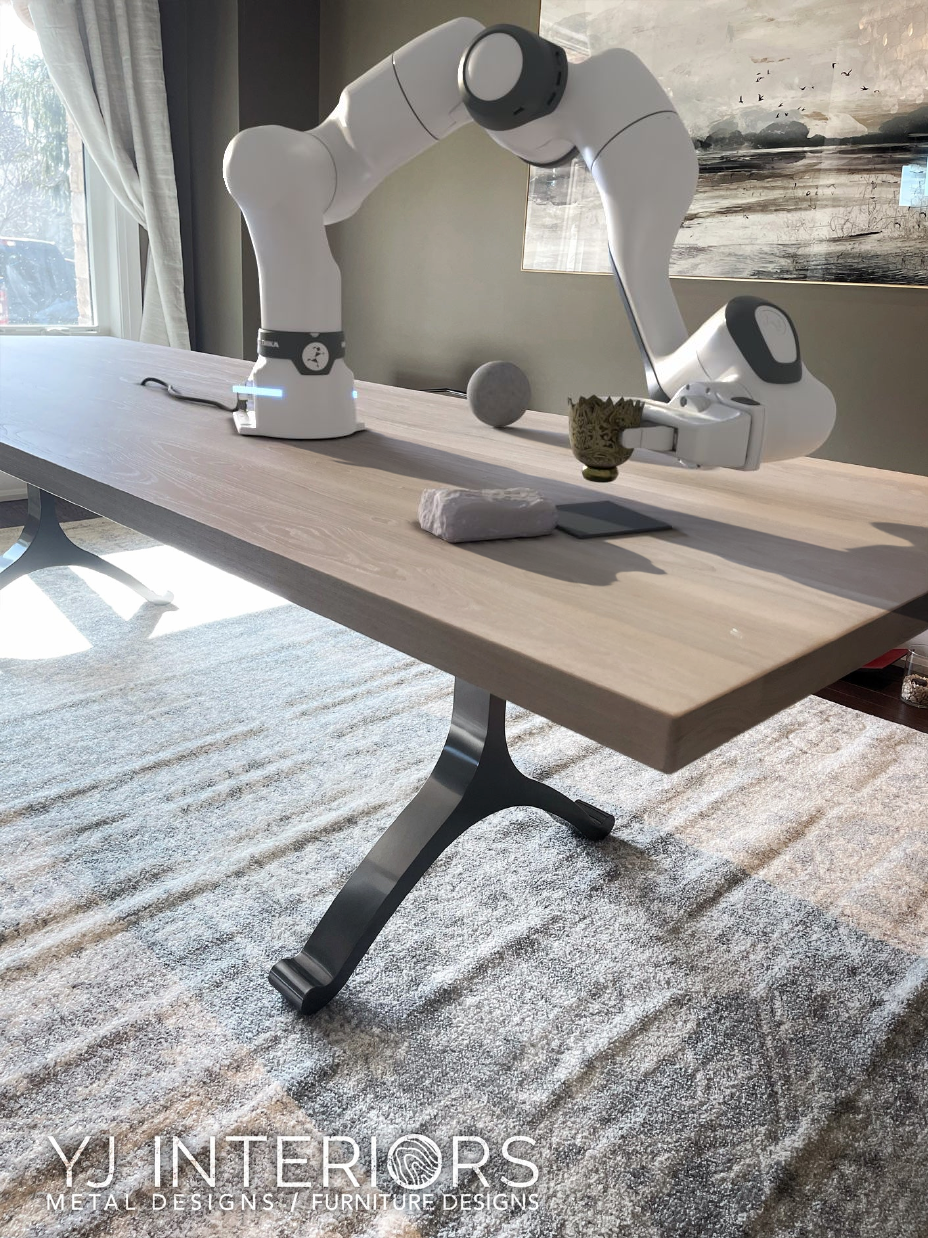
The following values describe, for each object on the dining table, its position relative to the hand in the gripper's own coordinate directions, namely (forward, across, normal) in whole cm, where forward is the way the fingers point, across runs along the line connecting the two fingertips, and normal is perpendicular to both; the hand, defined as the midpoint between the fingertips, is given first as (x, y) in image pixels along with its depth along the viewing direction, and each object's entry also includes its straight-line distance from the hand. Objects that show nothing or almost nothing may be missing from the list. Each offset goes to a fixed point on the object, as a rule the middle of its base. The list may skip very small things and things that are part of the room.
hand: (596, 430), depth 93 cm
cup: (-1, 0, +5) cm, 5 cm away
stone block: (+12, -1, +9) cm, 15 cm away
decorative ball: (-19, -54, +9) cm, 58 cm away
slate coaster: (-1, 0, +9) cm, 9 cm away
